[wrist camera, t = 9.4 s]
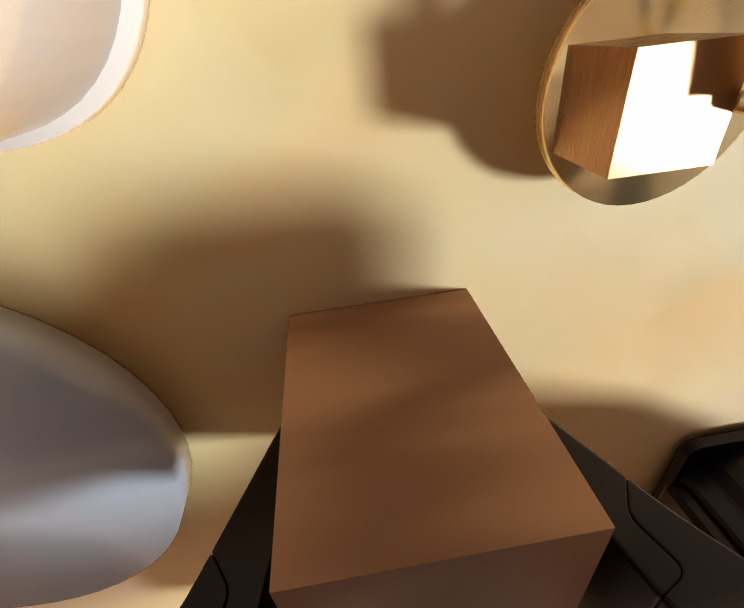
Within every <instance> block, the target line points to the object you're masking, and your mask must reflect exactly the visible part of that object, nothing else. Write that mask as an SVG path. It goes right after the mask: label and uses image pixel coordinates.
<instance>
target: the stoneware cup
mask: <svg viewBox="0 0 744 608" xmlns="http://www.w3.org/2000/svg"><path fill="white" fill-rule="evenodd" d="M149 7H150V0H0V151H8V150H13V149H18V148H24V147H29V146H33V145H36V144H38V143H41V142H44V141H47V140H50V139H52V138H55V137H57V136H60V135H62V134H65V133H67V132H70V131H72V130H74V129H76V128H77V127H79V126H81V125H83V124H85V123H86V122H88V121H90V120H91V119H93V118H94V117H95V116H96V115H97V114H99V113H100V112H101V111H102V110H103V109H105V108H106V107H107V106H108V105H109V104H110V103H111V101H112V100H113V99H114V98H115V97H116V95H117V94H118V93H119V92H120V91H121V89H122V88H123V86H124V84H125V83H126V81H127V79H128V78H129V76H130V74H131V72H132V71H133V69H134V67H135V64H136V61H137V59H138V56H139V53H140V51H141V48H142V45H143V41H144V37H145V32H146V28H147V23H148V18H149Z"/></svg>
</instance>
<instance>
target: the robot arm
mask: <svg viewBox="0 0 744 608" xmlns="http://www.w3.org/2000/svg"><path fill="white" fill-rule="evenodd" d="M547 419H548V420H549V422H550V424H551V425H552V427H553V428H554V430H555V432H556V433H557V435H558V436H559V438H560V440H561V441H562V443H563V444H564V446H565V448H566V449H567V451H568V452H569V454H570V456H571V457H572V459H573V460H574V462H575V464H576V465H577V467H578V468H579V470H580V472H581V473H582V475H583V476H584V478H585V480H586V481H587V483H588V485H589V486H590V488H591V489H592V491H593V493H594V494H595V496H596V497H597V499H598V501H599V502H600V504H601V505H602V507H603V509H604V510H605V512H606V513H607V515H608V517H609V518H610V520H611V521H612V523H613V525H614V526H615V530H614V532H613V534H612V536H611V538H610V540H609V542H608V544H607V546H606V548H605V551H604V553H603V555H602V557H601V559H600V561H599V563H598V565H597V567H596V569H595V572H594V574H593V576H592V578H591V580H590V582H589V584H588V586H587V588H586V591H585V593H584V595H583V597H582V599H581V601H580V603H579V605H578V607H577V608H744V430H739V431H734V432H728V433H722V434H717V435H711V436H706V437H700V438H695V439H692V440H689V441H687V442H685V443H684V444H683V445H681V447H680V448H679V449H678V451H677V453H676V455H675V457H674V459H673V461H672V462H671V464H670V466H669V468H668V470H667V472H666V474H665V476H664V477H663V479H662V481H661V483H660V485H659V487H658V489H657V491H656V492H655V494H654V496H653V497H652V496H651V495H649V494H648V493H647V492H645V491H644V490H643V489H641V488H640V487H639V486H637V485H636V484H635V483H633V482H632V481H631V480H629V479H627V480H626V477H625V476H624V475H623V474H621V473H620V472H619V471H617V470H616V469H615V468H614V467H612V466H611V465H610V464H608V463H607V462H606V461H604V460H603V459H602V458H600V457H599V456H598V455H596V454H595V453H594V452H592V451H591V450H590V449H589V448H587V447H586V446H585V445H583V444H582V443H581V442H579V441H578V440H577V439H575V438H574V437H573V436H571V435H570V434H569V433H567V432H566V431H565V430H564V429H562V428H561V427H560V426H558V425H557V424H556V423H554V422H553V421H552V420H550V419H549V418H548V417H547ZM280 434H281V426H280V428H279V430H278V432H277V434H276V435H275V437H274V439H273V441H272V443H271V445H270V446H269V448H268V450H267V452H266V454H265V456H264V457H263V459H262V461H261V463H260V465H259V467H258V468H257V470H256V472H255V474H254V476H253V478H252V479H251V481H250V483H249V485H248V487H247V489H246V490H245V492H244V494H243V496H242V498H241V500H240V501H239V503H238V505H237V507H236V509H235V511H234V512H233V514H232V516H231V518H230V520H229V522H228V523H227V525H226V527H225V529H224V531H223V533H222V534H221V536H220V538H219V540H218V542H217V544H216V545H215V547H214V549H213V551H212V554H213V555H210V556H209V558H208V560H207V562H206V563H205V565H204V567H203V569H202V571H201V573H200V575H199V576H198V578H197V580H196V582H195V583H194V585H193V587H192V588H191V590H190V592H189V594H188V595H187V597H186V599H185V601H184V602H183V604H182V605H181V607H180V608H277V606H276V604H275V602H274V601H273V599H272V597H271V595H270V594H269V589H270V575H271V561H272V547H273V533H274V519H275V505H276V491H277V477H278V463H279V448H280Z"/></svg>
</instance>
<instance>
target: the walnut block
mask: <svg viewBox="0 0 744 608" xmlns="http://www.w3.org/2000/svg"><path fill="white" fill-rule="evenodd" d="M614 530H615V526H614V525H613V523H612V521H611V520H610V518H609V517H608V515H607V513H606V512H605V510H604V509H603V507H602V505H601V504H600V502H599V501H598V499H597V497H596V496H595V494H594V493H593V491H592V489H591V488H590V486H589V485H588V483H587V481H586V480H585V478H584V476H583V475H582V473H581V472H580V470H579V468H578V467H577V465H576V464H575V462H574V460H573V459H572V457H571V456H570V454H569V452H568V451H567V449H566V448H565V446H564V444H563V443H562V441H561V440H560V438H559V436H558V435H557V433H556V432H555V430H554V428H553V427H552V425H551V424H550V422H549V420H548V419H547V417H546V415H545V414H544V412H543V411H542V409H541V407H540V406H539V404H538V403H537V401H536V399H535V398H534V396H533V395H532V393H531V391H530V390H529V388H528V387H527V385H526V383H525V382H524V380H523V379H522V377H521V375H520V374H519V372H518V371H517V369H516V367H515V366H514V364H513V363H512V361H511V359H510V358H509V356H508V354H507V353H506V351H505V350H504V348H503V346H502V345H501V343H500V342H499V340H498V338H497V337H496V335H495V334H494V332H493V330H492V329H491V327H490V326H489V324H488V322H487V321H486V319H485V318H484V316H483V314H482V313H481V311H480V310H479V308H478V306H477V305H476V303H475V302H474V300H473V298H472V297H471V295H470V293H469V292H468V290H467V289H463V290H457V291H450V292H443V293H437V294H430V295H424V296H417V297H410V298H404V299H397V300H391V301H384V302H377V303H371V304H364V305H358V306H351V307H345V308H338V309H331V310H325V311H318V312H312V313H305V314H298V315H292V316H289V322H288V336H287V350H286V364H285V378H284V392H283V406H282V420H281V434H280V448H279V463H278V477H277V491H276V505H275V519H274V533H273V547H272V561H271V575H270V589H269V594H270V595H271V597H272V599H273V601H274V602H275V604H276V606H277V608H577V607H578V605H579V603H580V601H581V599H582V597H583V595H584V593H585V591H586V588H587V586H588V584H589V582H590V580H591V578H592V576H593V574H594V572H595V569H596V567H597V565H598V563H599V561H600V559H601V557H602V555H603V553H604V551H605V548H606V546H607V544H608V542H609V540H610V538H611V536H612V534H613V532H614Z"/></svg>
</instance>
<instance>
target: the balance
mask: <svg viewBox="0 0 744 608" xmlns="http://www.w3.org/2000/svg"><path fill="white" fill-rule="evenodd" d="M535 120H536V134H537V139H538V144H539V148H540V151H541V154H542V157H543V159H544V161H545V163H546V165H547V166H548V168H549V170H550V171H551V172H552V174H553V175H554V176H555V178H556V179H557V180H559V181H560V182H561V183H562V184H563V185H564V186H566V187H567V188H569V189H571V190H572V191H574V192H576V193H577V194H579V195H581V196H582V197H584V198H586V199H589V200H591V201H594V202H597V203H601V204H606V205H630V204H636V203H640V202H645V201H648V200H651V199H654V198H657V197H660V196H662V195H664V194H666V193H669V192H671V191H673V190H674V189H676V188H678V187H680V186H682V185H683V184H685V183H687V182H688V181H689V180H691V179H692V178H694V177H695V176H697V175H698V174H700V173H701V172H702V171H703V170H704V169H706V168H707V167H708V166H709V165H713V163H714V161H715V160H716V159H717V158H718V157H719V156H720V155H721V154H722V153H723V152H724V151H725V150H726V149H727V148H728V147H729V146H730V145H731V144H732V143H733V142H734V140H735V139H736V138H737V137H738V136H739V134H740V133H741V132H742V131H743V129H744V0H581V1H580V2H579V4H578V5H577V6H576V7H575V9H574V10H573V11H572V13H571V14H570V16H569V18H568V19H567V21H566V22H565V24H564V25H563V27H562V29H561V30H560V32H559V34H558V36H557V38H556V40H555V42H554V44H553V46H552V48H551V51H550V53H549V56H548V58H547V61H546V63H545V66H544V69H543V73H542V76H541V80H540V83H539V89H538V95H537V100H536V115H535Z"/></svg>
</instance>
